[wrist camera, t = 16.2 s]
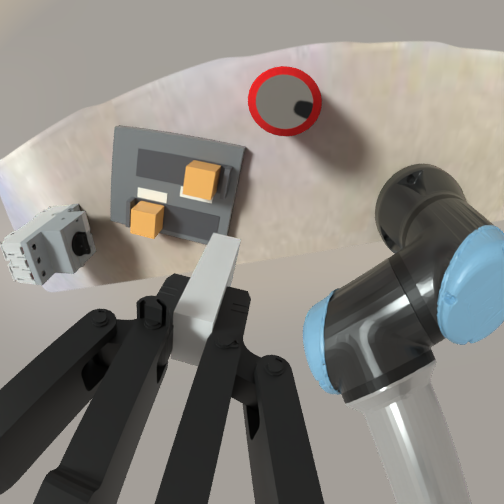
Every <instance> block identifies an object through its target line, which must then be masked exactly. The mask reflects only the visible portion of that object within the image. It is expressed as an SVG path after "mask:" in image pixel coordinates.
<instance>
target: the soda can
mask: <svg viewBox="0 0 504 504" xmlns="http://www.w3.org/2000/svg"><path fill="white" fill-rule="evenodd" d="M321 105H322V99H321V93H320V91H319V88H318V86H317V84H316V83H315V81H314V80H313V79H312V78H311V77H310V76H309V75H308V74H306V73H305V72H303V71H301V70H299V69H297V68H292V67H284V66H281V67H275V68H272V69H269V70H267V71H265V72H263V73H262V74H261V75H260V76H258V77H257V78H256V80H255V81H254V82H253V84H252V86H251V88H250V90H249V95H248V106H249V111H250V113H251V115H252V117H253V119H254V120H255V122H256V123H257V124H258V125H259V126H260V127H261V128H263V129H264V130H265V131H267V132H269V133H272V134H274V135H279V136H293V135H297V134H300V133H302V132H304V131H306V130H307V129H309V128H310V127H311V126H312V125H313V124H314V123H315V121H316V120H317V118H318V116H319V114H320V111H321Z"/></svg>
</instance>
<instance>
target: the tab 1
mask: <svg viewBox="0 0 504 504" xmlns="http://www.w3.org/2000/svg"><path fill="white" fill-rule="evenodd" d="M163 215H164V206H163V205H158V204H154V203H149V202H145V201H140V202H139V203H138V204H137V205H135V206H134V207H133V208H132V209H131V231H130V233H132V234H136V235H140V236H144V237H148V238H152V239H154V238H155V237H156V236H157V235H158V234H159V232H160V231H161V230H162V227H163Z"/></svg>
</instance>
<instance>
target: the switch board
mask: <svg viewBox="0 0 504 504" xmlns="http://www.w3.org/2000/svg"><path fill="white" fill-rule="evenodd" d="M244 151H245V147H244V146H240V145H235V144H230V143H225V142H220V141H215V140H210V139H205V138H200V137H194V136H188V135H183V134H177V133H171V132H164V131H158V130H151V129H144V128H136V127H129V126H121V125H119V126H116V127H115V130H114V142H113V156H112V175H111V221H114V222H118V223H122V224H126V227H130V226H131V209H132V208H133V207H134V206H135V205H137V204H138V203H139V202H140V201H145V202H149V203H154V204H158V205H163V206H164V215H163V227H162V230H161V231H160V232H159V233H162V234H166V235H170V236H174V237H178V238H182V239H186V240H190V241H194V242H198V243H203V244H208V242H209V241H210V239H211V237H212V235H213V233H217V234H221V235H225V236H227V235H228V230H229V225H230V220H231V215H232V210H233V205H234V200H235V195H236V190H237V185H238V180H239V175H240V170H241V166H242V161H243V156H244ZM193 160H196V161H201V162H206V163H211V164H216V165H220V166H221V170H220V175H219V181H218V186H217V192H216V193H215V195H214V196H213V198H212V199H211V200H207V199H202V198H198V197H193V196H189V195H184V194H182V193H183V185H184V178H185V170H186V166H187V165H188V164H189V163H191V162H192V161H193Z"/></svg>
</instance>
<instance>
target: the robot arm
mask: <svg viewBox="0 0 504 504" xmlns="http://www.w3.org/2000/svg"><path fill="white" fill-rule="evenodd" d="M375 220H376V225H377V229H378V231H379V233H380V235H381V237H382V239H383V241H384V242H385V244H386V245H387V247H388V248H389V249H390V250H391V251H392V252H393V253H395V254H394V255H393V256H391V257H390V258H388V259H386V260H385V261H383V262H382V263H380V264H378V265H377V266H375V267H374V268H372V269H371V270H369V271H368V272H366V273H364V274H363V275H361V276H359V277H358V278H356V279H355V280H353V281H351V282H350V283H348V284H347V285H345V286H343V287H341V288H340V289H335V290H334V291H332V292H331V293H330V294H329V296H327V297H326V298H324V299H323V300H321V301H320V302H318V303H317V304H315V305H314V306H313V307H312V308H311V309H310V310H309V312H308V313H307V316H306V318H305V322H304V326H303V343H304V349H305V354H306V358H307V361H308V364H309V367H310V370H311V372H312V374H313V376H314V378H315V379H316V380H317V381H319V384H320V387H321V388H322V389H323V390H324V391H326V392H327V393H330V394H342V397H343V399H344V402H345V404H346V406H347V407H350V408H352V409H355V410H358V411H360V412H361V413H363V414H364V416H365V419H366V421H367V424H368V427H369V429H370V432H371V435H372V437H373V439H374V443H375V445H376V448H377V451H378V453H379V456H380V458H381V461H382V464H383V466H384V470H385V472H386V475H387V478H388V481H389V483H390V486H391V489H392V492H393V495H394V497H395V501H396V503H397V504H472V503H471V500H470V496H469V492H468V488H467V485H466V481H465V478H464V474H463V471H462V468H461V464H460V461H459V458H458V455H457V452H456V449H455V446H454V443H453V440H452V437H451V434H450V431H449V428H448V426H447V423H446V420H445V417H444V415H443V412H442V409H441V407H440V404H439V402H438V399H437V396H436V394H435V392H434V389H433V387H432V384H431V376H432V373H433V370H434V367H435V365H436V359H435V357H434V355H433V352H432V350H431V347H432V346H434V345H435V344H436V343H438V342H440V341H442V340H443V339H445V338H447V339H448V340H450V341H451V342H453V343H456V344H460V345H465V344H466V343H467V342H468V341H469V342H470V343H475V342H477V341H480V340H482V339H483V338H485V337H487V336H488V335H490V334H491V333H492V332H493V331H495V330H496V329H497V328H498V327H499V326H500V325H501V324H502V323H503V321H504V233H503V232H502V231H501V230H500V229H499V228H498V227H496V226H494V225H493V224H492V223H491V222H490V221H488V220H487V219H486V218H485V217H484V216H483V215H481V214H480V213H479V212H478V211H477V210H475V209H474V208H473V207H472V206H470V205H469V204H468V203H467V201H466V199H465V196H464V194H463V191H462V189H461V187H460V186H459V184H458V183H457V181H456V180H455V179H454V178H453V177H452V176H451V175H449V174H448V173H447V172H445V171H444V170H442V169H440V168H438V167H436V166H433V165H429V164H415V165H411V166H408V167H406V168H403V169H401V170H400V171H398V172H397V173H395V174H394V175H393V176H392V177H391V178H390V179H389V180H388V181H387V182H386V184H385V185H384V187H383V188H382V190H381V192H380V194H379V197H378V199H377V203H376V209H375ZM240 242H241V239H238V238H234V237H229V236H225V235H221V234H217V233H213V235H212V237H211V239H210V241H209V242H208V244H207V246H206V248H205V250H204V252H203V254H202V256H201V258H200V260H199V262H198V264H197V266H196V268H195V270H194V272H193V274H192V276H191V278H190V277H186V276H182V275H179V274H175V273H174V274H173V275H171V276H170V277H168V278H167V279H166V280H165V282H164V284H163V286H162V287H161V289H160V290H159V292H158V294H157V296H146V297H143V298H141V299H140V300H139V301H137V319H134V320H119V319H116V317H115V315H114V314H113V313H112V312H111V311H109V310H106V309H96V310H92V311H91V312H89V313H88V314H86V315H85V316H84V317H83V318H81V319H80V320H79V321H78V322H77V323H75V324H74V325H73V326H72V327H71V328H70V329H68V330H67V331H66V332H65V333H64V334H62V335H61V336H60V337H59V338H58V339H57V340H55V341H54V342H53V343H52V344H51V345H50V346H48V347H47V348H46V349H45V350H44V351H43V352H42V353H40V354H39V355H38V356H37V357H36V358H35V359H34V360H33V361H31V362H30V363H29V364H28V365H27V366H26V367H25V368H24V369H22V370H21V371H20V372H19V373H18V374H17V375H16V376H15V377H14V378H12V379H11V380H10V381H9V382H8V383H7V384H6V385H5V386H4V387H3V388H2V389H1V390H0V494H2V493H4V492H5V491H6V490H8V489H9V488H11V487H12V486H13V485H14V484H15V483H16V482H17V481H18V480H19V479H20V478H21V476H22V475H23V474H24V473H25V472H26V471H27V469H29V468H30V466H31V465H32V464H33V463H34V462H35V461H36V460H37V458H38V457H39V456H40V455H41V454H42V453H43V452H44V451H45V450H46V448H47V447H48V446H49V445H50V444H51V443H52V442H53V441H54V439H55V438H56V437H57V436H58V435H59V434H60V433H61V432H62V431H63V430H64V428H65V427H66V426H67V425H68V424H69V423H70V422H71V421H72V420H73V419H74V417H75V416H76V415H77V414H78V413H79V412H80V411H81V410H82V409H83V407H84V406H85V405H86V404H87V403H88V402H89V401H90V400H91V399H92V400H91V402H90V404H89V406H88V408H87V410H86V412H85V414H84V416H83V418H82V420H81V422H80V424H79V426H78V428H77V430H76V432H75V434H74V436H73V438H72V440H71V442H70V444H69V446H68V448H67V450H66V452H65V454H64V456H63V459H62V461H61V463H60V465H59V466H58V467H57V468H56V469H54V470H52V471H50V472H49V473H48V474H47V475H46V477H45V479H44V480H43V482H42V484H41V487H40V489H39V491H38V494H37V496H36V498H35V500H34V503H33V504H116V503H117V500H118V497H119V495H120V492H121V489H122V486H123V483H124V480H125V478H126V475H127V472H128V469H129V467H130V464H131V461H132V459H133V456H134V453H135V450H136V448H137V445H138V442H139V440H140V436H141V435H142V432H143V429H144V427H145V424H146V421H147V419H148V416H149V413H150V411H151V408H152V406H153V403H154V401H155V398H156V395H157V393H158V390H159V388H160V385H161V383H162V380H163V378H164V375H165V373H166V370H167V366H168V359H169V356H170V354H171V359H175V360H178V361H182V362H185V363H188V364H192V365H196V366H198V369H197V372H196V375H195V378H194V381H193V384H192V387H191V390H190V393H189V397H188V399H187V403H186V405H185V409H184V412H183V415H182V418H181V421H180V424H179V427H178V431H177V434H176V437H175V440H174V443H173V446H172V450H171V453H170V456H169V459H168V462H167V465H166V469H165V472H164V475H163V478H162V482H161V485H160V488H159V491H158V495H157V498H156V501H155V504H208V500H209V495H210V491H211V486H212V482H213V477H214V473H215V468H216V464H217V459H218V455H219V450H220V446H221V441H222V436H223V431H224V427H225V423H226V418H227V413H228V409H229V404H230V399H231V397H232V398H234V399H236V400H238V401H240V402H241V403H243V410H244V419H245V427H246V435H247V443H248V451H249V459H250V467H251V475H252V483H253V490H254V497H255V504H324V501H323V497H322V492H321V488H320V484H319V480H318V476H317V471H316V467H315V463H314V459H313V454H312V450H311V446H310V442H309V438H308V434H307V430H306V426H305V422H304V417H303V413H302V409H301V405H300V401H299V397H298V393H297V389H296V385H295V381H294V377H293V373H292V369H291V367H290V365H289V363H288V362H287V361H286V360H285V359H283V358H281V357H279V356H276V355H266V356H263V357H262V358H261V357H259V356H257V355H255V354H253V353H252V352H250V351H249V350H248V349H247V348H246V346H245V345H244V342H243V335H244V330H245V325H246V320H247V316H248V311H249V305H250V301H251V298H250V296H249V293H248V291H244V290H240V289H236V288H232V287H230V285H231V282H232V278H233V274H234V269H235V265H236V260H237V255H238V251H239V246H240Z"/></svg>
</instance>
